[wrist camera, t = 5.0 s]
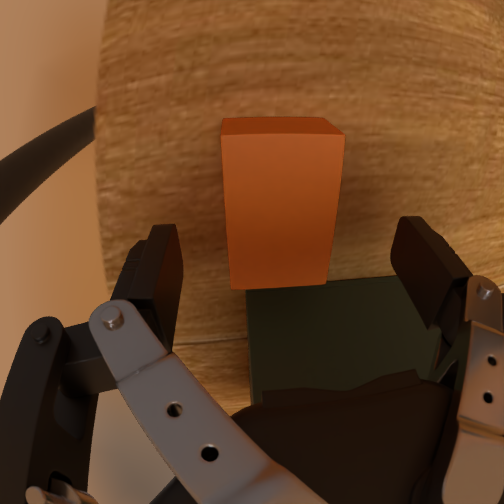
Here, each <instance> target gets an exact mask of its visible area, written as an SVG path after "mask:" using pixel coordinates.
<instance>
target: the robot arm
mask: <svg viewBox="0 0 504 504" xmlns="http://www.w3.org/2000/svg"><path fill="white" fill-rule="evenodd" d="M390 259H391V264H392V267H393V269H394V270H395V272H396V274H397V276H398V277H399V279H400V281H401V283H402V284H403V286H404V288H405V290H406V291H407V293H408V295H409V297H410V299H411V300H412V302H413V304H414V306H415V308H416V310H417V311H418V313H419V315H420V317H421V319H422V321H423V323H424V325H425V327H426V329H427V331H428V330H433V329H438V328H440V329H441V333H440V335H439V336H438V339H437V343H436V348H435V352H434V356H433V360H432V364H431V368H430V372H429V375H428V378H427V380H425V379H420V378H419V376H418V373H417V371H416V369H410V370H406V371H401V372H397V373H392V374H387V375H382V376H380V377H378V378H376V379H374V380H372V381H370V382H368V383H365V384H363V385H361V386H359V387H356V388H354V389H352V390H349V391H337V390H326V389H316V388H306V387H301V388H291V389H279V390H266V391H262V398H261V402H259V403H256V404H253V405H250V406H248V407H246V408H243V409H242V410H240V411H238V412H236V413H234V414H233V415H232V416H229V415H228V414H227V413H226V412H225V411H224V410H223V409H222V408H221V407H220V405H219V404H218V403H217V402H216V401H215V400H214V399H213V398H212V397H211V395H210V394H209V393H208V392H207V391H206V390H205V388H204V387H203V386H202V385H201V384H200V383H199V381H198V380H197V379H196V378H195V377H194V376H193V374H192V373H191V372H190V371H189V370H188V368H187V367H186V366H185V365H184V363H183V362H182V361H181V360H180V359H179V357H178V356H177V355H176V354H175V353H174V352H172V347H173V340H174V333H175V326H176V319H177V313H178V306H179V300H180V294H181V288H182V282H183V260H182V254H181V249H180V243H179V238H178V232H177V227H176V225H175V224H161V225H153V227H152V229H151V232H150V234H149V237H148V240H139V241H138V242H137V243H136V244H135V245H134V246H133V247H132V248H131V249H130V251H129V253H128V256H127V258H126V262H125V263H124V266H123V268H122V271H121V273H120V275H119V278H118V281H117V283H116V286H115V288H114V291H113V294H112V296H111V299H110V301H107V302H105V303H103V304H101V305H100V306H98V307H97V308H96V309H95V310H94V311H93V313H92V314H91V316H90V318H89V321H88V322H85V323H82V324H78V325H74V326H70V327H66V328H64V327H63V325H62V324H61V322H60V321H59V320H58V319H57V318H55V317H49V316H48V317H42V318H40V319H38V320H36V321H35V322H33V323H32V324H31V325H30V326H29V327H28V328H27V329H26V331H25V333H24V335H23V337H22V340H21V342H20V345H19V348H18V350H17V352H16V355H15V358H14V360H13V363H12V366H11V369H10V372H9V375H8V377H7V380H6V383H5V386H4V390H3V393H2V396H1V399H0V504H98V502H97V501H96V500H95V499H94V497H92V496H91V495H90V494H88V493H87V486H88V473H89V463H90V453H91V444H92V436H93V428H94V421H95V414H96V408H97V401H98V396H99V393H100V392H104V391H109V390H113V389H119V391H120V393H121V395H122V396H123V398H124V400H125V401H126V403H127V405H128V407H129V408H130V410H131V412H132V413H133V415H134V416H135V418H136V420H137V421H138V423H139V424H140V426H141V427H142V429H143V431H144V432H145V433H146V435H147V437H148V438H149V440H150V441H151V443H152V444H153V446H154V447H155V448H156V450H157V451H158V452H159V454H160V456H161V457H162V458H163V460H164V461H165V462H166V464H167V465H168V466H169V468H170V469H171V470H172V472H173V473H174V474H175V477H174V478H173V479H172V480H171V481H170V482H169V483H168V484H167V486H166V487H165V488H164V489H163V490H162V491H161V492H160V493H159V494H158V495H157V496H156V497H155V498H154V499H153V500H152V501H151V502H150V504H504V293H501V291H500V289H499V288H498V286H497V285H496V284H495V283H494V282H493V281H491V280H490V279H488V278H486V277H483V276H480V275H474V276H473V274H472V273H471V272H470V270H469V269H468V268H467V266H466V265H465V264H464V263H463V261H462V260H461V259H460V258H459V256H458V255H457V254H455V251H454V250H453V249H452V248H451V247H449V244H448V243H447V242H446V241H445V239H444V238H443V237H442V236H441V235H439V234H438V233H437V232H435V231H434V230H432V229H431V227H430V226H429V225H428V224H427V223H426V222H425V221H424V219H423V218H422V217H420V216H402V217H401V218H400V219H399V222H398V225H397V229H396V233H395V237H394V241H393V245H392V248H391V253H390Z"/></svg>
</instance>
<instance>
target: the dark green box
mask: <svg viewBox="0 0 504 504" xmlns="http://www.w3.org/2000/svg"><path fill="white" fill-rule="evenodd" d="M245 293H246V316H247V339H248V361H249V382H250V398H251V405H253V404H256V403H259V402H261V398H262V391H266V390H279V389H291V388H301V387H306V388H316V389H326V390H337V391H349V390H352V389H354V388H356V387H359V386H361V385H363V384H365V383H368V382H370V381H372V380H374V379H376V378H378V377H380V376H382V375H387V374H392V373H397V372H401V371H406V370H410V369H416V371H417V373H418V376H419V378H420V379H425V380H427V378H428V375H429V372H430V368H431V364H432V360H433V356H434V352H435V348H436V343H437V339H438V336H439V335H440V333H441V329H440V328H438V329H433V330H428V331H427V329H426V327H425V325H424V323H423V321H422V319H421V317H420V315H419V313H418V311H417V310H416V308H415V306H414V304H413V302H412V300H411V299H410V297H409V295H408V293H407V291H406V290H405V288H404V286H403V284H402V283H401V281H400V279H399V277H398V276H389V277H378V278H366V279H354V280H341V281H328V282H326V284H324V285H310V286H295V287H279V288H262V289H245Z"/></svg>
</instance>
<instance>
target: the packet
mask: <svg viewBox="0 0 504 504" xmlns="http://www.w3.org/2000/svg"><path fill="white" fill-rule="evenodd" d="M220 139H221V156H222V173H223V189H224V204H225V219H226V233H227V246H228V259H229V272H230V284H231V290H244V289H262V288H279V287H295V286H310V285H324V284H326V280H327V274H328V268H329V262H330V256H331V250H332V244H333V237H334V230H335V223H336V216H337V209H338V201H339V193H340V185H341V176H342V167H343V158H344V147H345V134H343V133H342V132H341V131H340V130H338V129H337V128H336V127H334V126H333V125H332V124H330V123H329V122H328V121H327V120H325V119H324V118H313V117H246V118H224V119H223V120H222V128H221V135H220Z"/></svg>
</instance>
